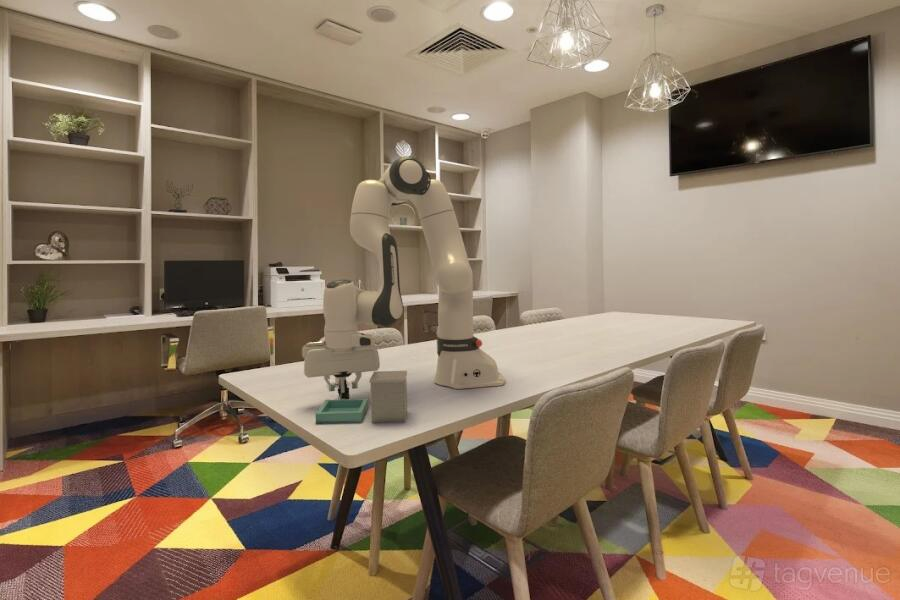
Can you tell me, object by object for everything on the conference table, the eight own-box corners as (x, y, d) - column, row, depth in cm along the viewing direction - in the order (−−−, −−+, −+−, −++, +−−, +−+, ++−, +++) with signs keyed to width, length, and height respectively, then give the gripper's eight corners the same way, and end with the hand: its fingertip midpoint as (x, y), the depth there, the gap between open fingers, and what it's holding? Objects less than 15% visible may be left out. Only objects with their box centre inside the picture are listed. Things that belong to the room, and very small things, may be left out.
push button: (352, 405, 126) (350, 369, 125) (332, 406, 126) (330, 370, 125) (354, 397, 133) (352, 363, 132) (335, 399, 132) (333, 364, 131)
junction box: (408, 410, 121) (407, 370, 120) (406, 422, 113) (404, 379, 112) (374, 411, 121) (373, 371, 120) (369, 423, 112) (368, 380, 111)
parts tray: (368, 407, 124) (367, 398, 124) (361, 422, 113) (361, 412, 113) (326, 409, 124) (326, 399, 123) (315, 423, 113) (315, 413, 112)
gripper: (302, 344, 121) (304, 397, 122) (380, 338, 128) (381, 388, 129) (300, 340, 127) (303, 390, 128) (375, 335, 134) (377, 382, 135)
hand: (343, 389), depth 129 cm, fingers closed on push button, 5 cm apart
